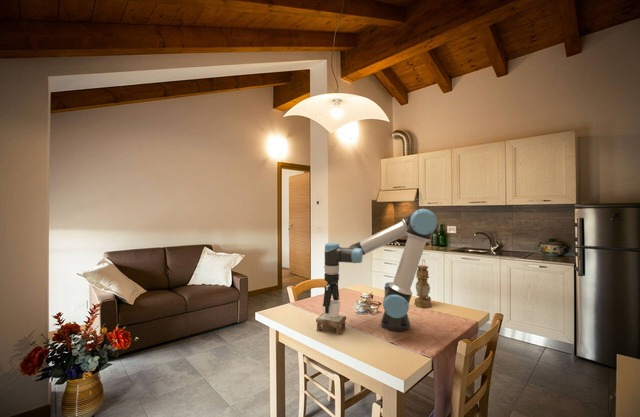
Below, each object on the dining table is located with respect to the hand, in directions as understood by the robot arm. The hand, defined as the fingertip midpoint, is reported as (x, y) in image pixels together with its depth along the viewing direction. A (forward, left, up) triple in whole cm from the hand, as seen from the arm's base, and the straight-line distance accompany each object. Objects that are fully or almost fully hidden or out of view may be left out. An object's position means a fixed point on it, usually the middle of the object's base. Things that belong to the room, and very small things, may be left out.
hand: (331, 315), depth 157 cm
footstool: (0, 0, -7) cm, 7 cm away
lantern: (-41, -60, -7) cm, 73 cm away
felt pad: (0, 0, -1) cm, 1 cm away
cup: (0, 0, -1) cm, 1 cm away
